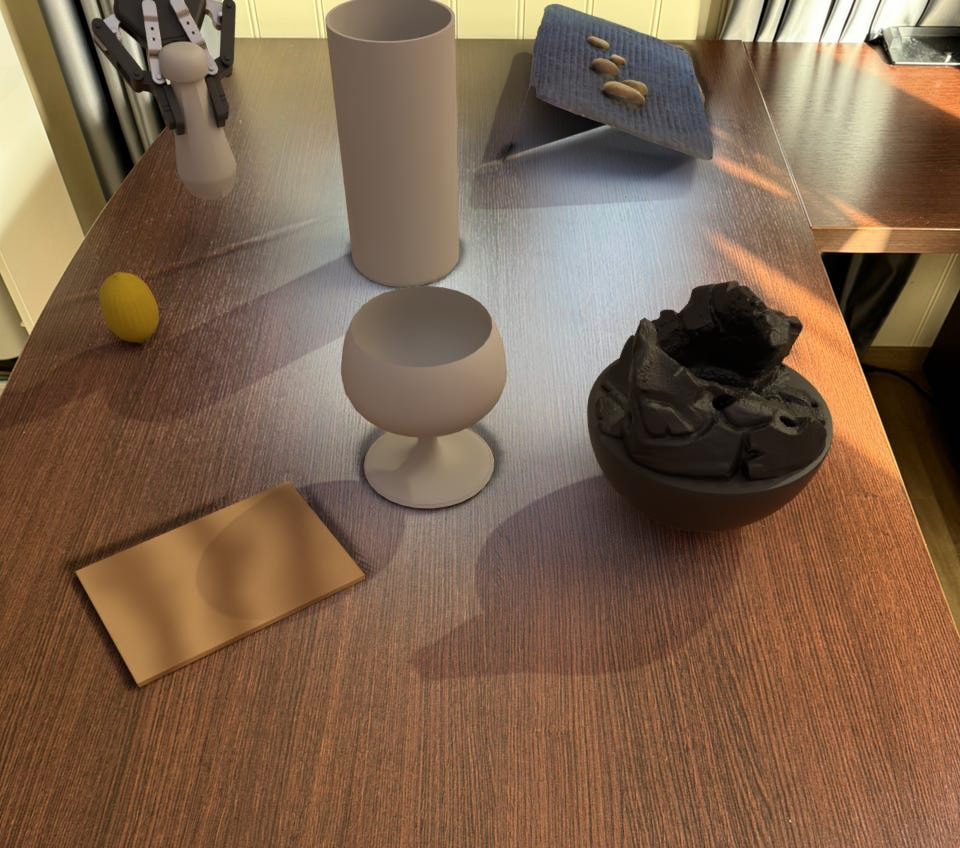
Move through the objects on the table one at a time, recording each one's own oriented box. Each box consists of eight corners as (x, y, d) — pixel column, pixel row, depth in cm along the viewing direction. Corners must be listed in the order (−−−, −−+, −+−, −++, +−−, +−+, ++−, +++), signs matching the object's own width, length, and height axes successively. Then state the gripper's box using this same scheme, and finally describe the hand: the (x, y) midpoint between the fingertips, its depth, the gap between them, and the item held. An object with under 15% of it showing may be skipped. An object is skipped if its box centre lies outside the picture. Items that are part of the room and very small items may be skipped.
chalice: (338, 510, 83) (316, 368, 71) (371, 412, 92) (356, 271, 80) (493, 526, 82) (496, 385, 70) (512, 425, 90) (517, 284, 79)
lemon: (126, 364, 96) (101, 294, 90) (105, 339, 99) (80, 269, 93) (175, 345, 98) (155, 276, 92) (154, 321, 101) (132, 252, 95)
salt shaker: (252, 184, 94) (225, 40, 84) (220, 209, 91) (188, 64, 81) (204, 172, 96) (172, 30, 86) (171, 197, 93) (133, 52, 82)
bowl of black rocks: (808, 451, 88) (874, 266, 73) (790, 604, 76) (865, 421, 62) (602, 413, 92) (626, 229, 77) (554, 554, 80) (571, 369, 65)
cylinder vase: (459, 290, 105) (454, 42, 85) (349, 290, 105) (319, 42, 85) (459, 233, 113) (455, -6, 93) (357, 233, 113) (331, -6, 93)
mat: (513, 62, 151) (536, -19, 142) (669, 117, 155) (700, 42, 147) (500, 175, 121) (528, 81, 112) (693, 239, 125) (734, 154, 117)
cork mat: (139, 688, 71) (136, 683, 71) (77, 575, 78) (74, 571, 78) (365, 579, 78) (365, 574, 78) (289, 485, 85) (288, 480, 85)
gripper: (49, -86, 79) (124, 123, 81) (211, -106, 83) (278, 94, 85) (58, -32, 86) (128, 159, 89) (208, -52, 90) (269, 131, 93)
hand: (201, 126), depth 87 cm, fingers closed on salt shaker, 3 cm apart
